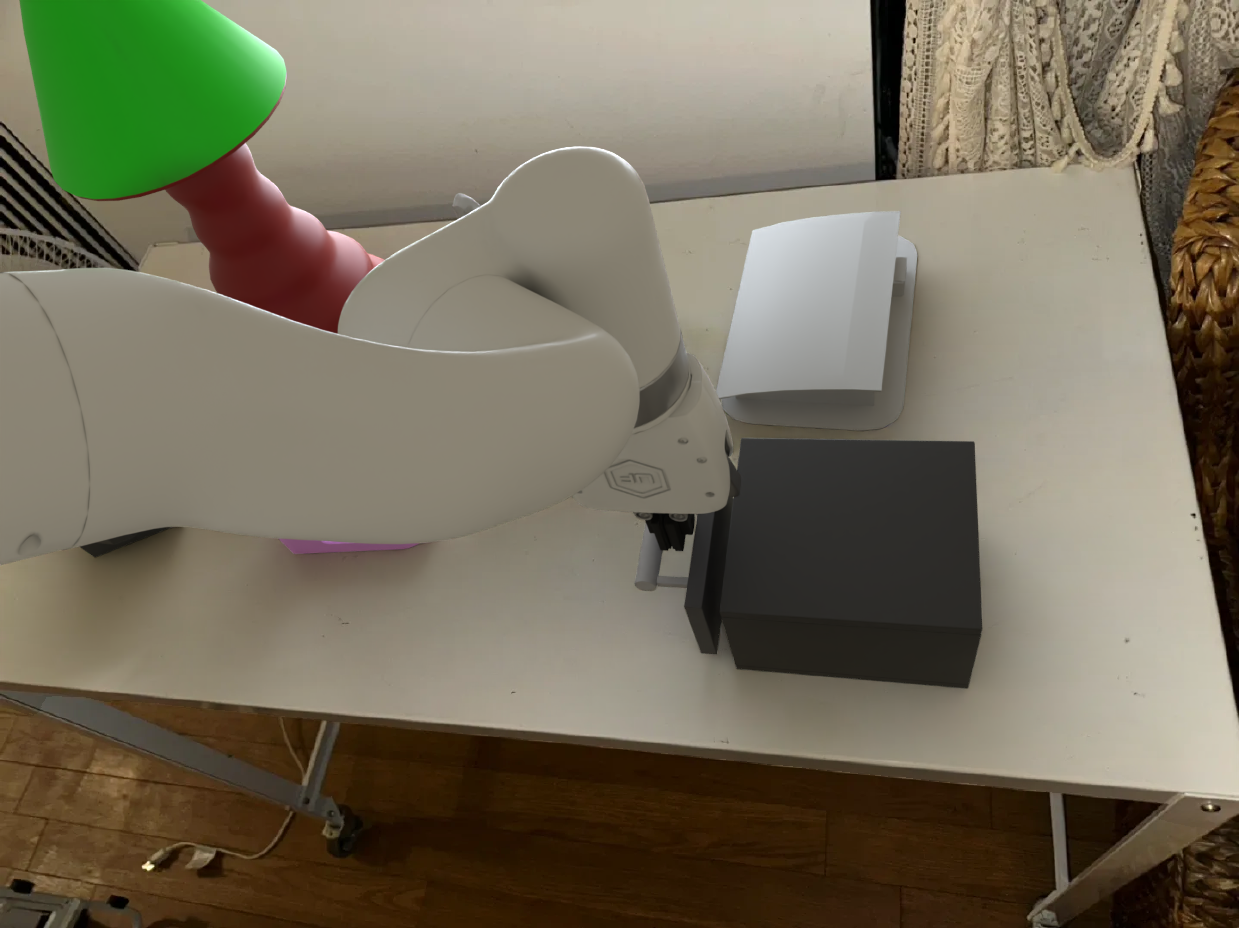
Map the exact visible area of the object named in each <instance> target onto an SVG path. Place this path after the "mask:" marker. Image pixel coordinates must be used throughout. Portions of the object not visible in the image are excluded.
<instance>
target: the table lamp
mask: <svg viewBox="0 0 1239 928" xmlns="http://www.w3.org/2000/svg"><path fill="white" fill-rule="evenodd" d="M19 8H20V14H21V15H20V16H21V22H22V30H23V36H24V40H25V45H26V50H27V55H28V60H29V65H30V71H31V75H32V81H33V85H34V92H35V97H36V101H37V106H38V112H39V117H40V123H41V128H42V132H43V136H44V142H45V143H44V144H45V149H46V152H47V153H46V154H47V158H48V163H49V169H50V173H51V175H52V178H53V181H54V182H55V183H56V184H57V186H59V187H60V189H62V190H63V191H64V192H66V193H68V194H71V195H73V196H75V197H77V198H80V199H83V200H89V201H95V202H119V201H125V200H130V199H131V200H132V199H139V198H143V197H145V196H149V195H152V194H156V193H159V192H162V191H165V192H166V193H167V194H168V195H169V196H170V197H171V198H172V199H173V200H174V201H175V202H176V203H178V204H179V205H180V206H182V207H183V208H184V209H185V210H186V211H187V212H188V215H189V219H190V222H191V225H192V228H193V230H194V233H195V236H196V237H197V238H198V240H199V242H200V243H201V245H203V247H205V249H206V250H207V251H208V252H209V259H208V270H209V280H210V282H211V285H212V286H213V288H214V290H215V291H216V292H215V293H218V294H221V295H224V296H227V297H230V298H232V299H235V300H238V301H240V302H243V303H246V304H249V305H251V306H254V307H257V308H260V309H262V310H265V311H268V312H270V313H273V314H276V315H279V316H281V317H284V318H287V319H290V320H293V321H296V322H299V323H302V324H305V325H308V326H312V327H315V328H318V329H321V330H325V331H328V332H332V333H336V334H338V323H339V319H340V315H341V312H342V309H343V307H344V304H345V302H346V301H347V299H348V297H349V295H350V294H351V292H352V291H353V289H354V288H355V287H356V286H357V284H358V283H359V282H360V281H361V280H362V279H363V278H364V277H365V276H366V275H367V274H368V273H369V272H370V271H371V270H372V269H374V268H375V267H376V266H377V265H379V264H380V263H382V262H383V261H384V260H385V259H384V258H382V257H379V256H377V255H375V254H373V253H368V252H367V250H366V249H365V248H364V247H363V245H362V244H361V243H359V241H357V240H355V239H354V238H353V237H351V236H348V235H347V234H344V233H341V232H338V231H335V230H333V231H332V230H329V229H328V230H327V229H326V227H325V226H324V224H323V223H322V222H321V221H320V220H319V219H318V218H317V217H316V216H314V215H313V214H311V213H310V212H308V211H305V210H303V209H301V208H298V207H295V206H293V205H290V204H289V203H288V201H287V200H286V198H285V196H284V194H283V193H282V192H281V190H280V189H279V187H278V186H277V185H276V184H275V183H274V182H272V181H271V180H270V179H269V178H267V177H266V176H265V175H263V174H261V172H260V171H259V170H258V169H257V167H256V164H255V161H254V158H253V155H252V152H251V150H250V147H249V146H248V145H247V142H249V141H250V140H251V139H252V138H254V136H255V135H256V134H257V133H258V132H259V131H260V130H261V129H262V128H263V126H265V124H266V123H267V122H268V121H269V120H270V118H271V117H272V116H273V114H274V112H275V111H276V110H277V108H278V107H279V106H280V103H281V102H282V101H281V100H282V98H283V96H284V93H285V91H286V87H287V79H288V73H287V67H286V63H285V59H284V57H283V56H282V55H281V54H280V53H279V51H278V50H277V49H275V48H274V47H272V46H271V45H269V44H268V43H267V42H265V41H264V40H262V39H260V38H259V37H258V36H256V35H254V34H253V33H251V32H250V31H248V30H247V29H245V28H244V27H242V26H240V25H239V24H238V23H237V22H235V21H234V20H232V19H230V18H229V17H227V16H226V15H225V14H222V13H221V12H219V10H217V9H215V8H214V7H212V6H210V5H209V4H207V3H206V2H204V1H203V0H19Z"/></svg>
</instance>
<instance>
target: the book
mask: <svg viewBox="0 0 1239 928" xmlns="http://www.w3.org/2000/svg"><path fill="white" fill-rule="evenodd" d="M901 212H902V211H901V210H889V211H888V210H884V211H883V210H881V211H879V210H878V211H864V212H851V213H849V212H848V213H839V214H830V215H820V216H812V217H806V218H800V219H799V218H798V219H794V220H788V221H782V222H778V223H774V224H771V225H767V226H763V227H759V228H755V229H752V230H751V235H750V239H749V243H748V247H747V252H746V256H745V261H744V266H743V270H742V274H741V279H740V282H739V288H738V292H737V297H736V301H735V305H734V310H733V314H732V317H731V323H730V327H729V331H728V336H727V340H726V345H725V350H724V354H723V359H722V363H721V367H720V371H719V376H718V381H717V385H716V388H715V390H716V392H717V395H718V397H719V400H720V401H721V405H722V407H723V410H724V413H726V414H727V415H728V416H729V417H731V418H732V419H733V420H735V421H739V422H741V423H746V424H750V425H762V426H777V427H793V428H794V427H795V428H811V429H825V430H842V431H857V432H864V431H865V432H866V431H871V430H872V431H873V430H881V429H884V428H886V427H887V426H889V425H891V424H892V423H894V422H896V421H897V420H898V419H899V417H900V415H901V414H902V411H903V410H904V407H905V396H906V387H907V386H906V384H907V373H908V363H909V353H910V341H911V330H912V318H913V308H914V296H915V286H916V285H915V284H916V275H917V264H918V251H917V249H916V246H915V243H913V242H911V241H910V240H908V239H907V238H905V237H903V236H901V235H899V230H900V224H901V222H900V221H901V214H902V213H901Z"/></svg>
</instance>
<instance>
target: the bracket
mask: <svg viewBox="0 0 1239 928" xmlns="http://www.w3.org/2000/svg"><path fill="white" fill-rule="evenodd" d="M277 539H278V540H279V542H280V543H282V544H283V545H284V546H285V547H286V548H287V550H289V551H290V552H291V553H292V554H293V555H302V554H324V553H345V552H346V553H347V552H349V553H350V552H369V551H392V550H393V551H394V550H395V551H396V550H406V549H411V548H414V547H416V546H417V545H419V544H420V543H413V544H365V543H347V542H334V541H317V540H295V539H279V538H277Z"/></svg>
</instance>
